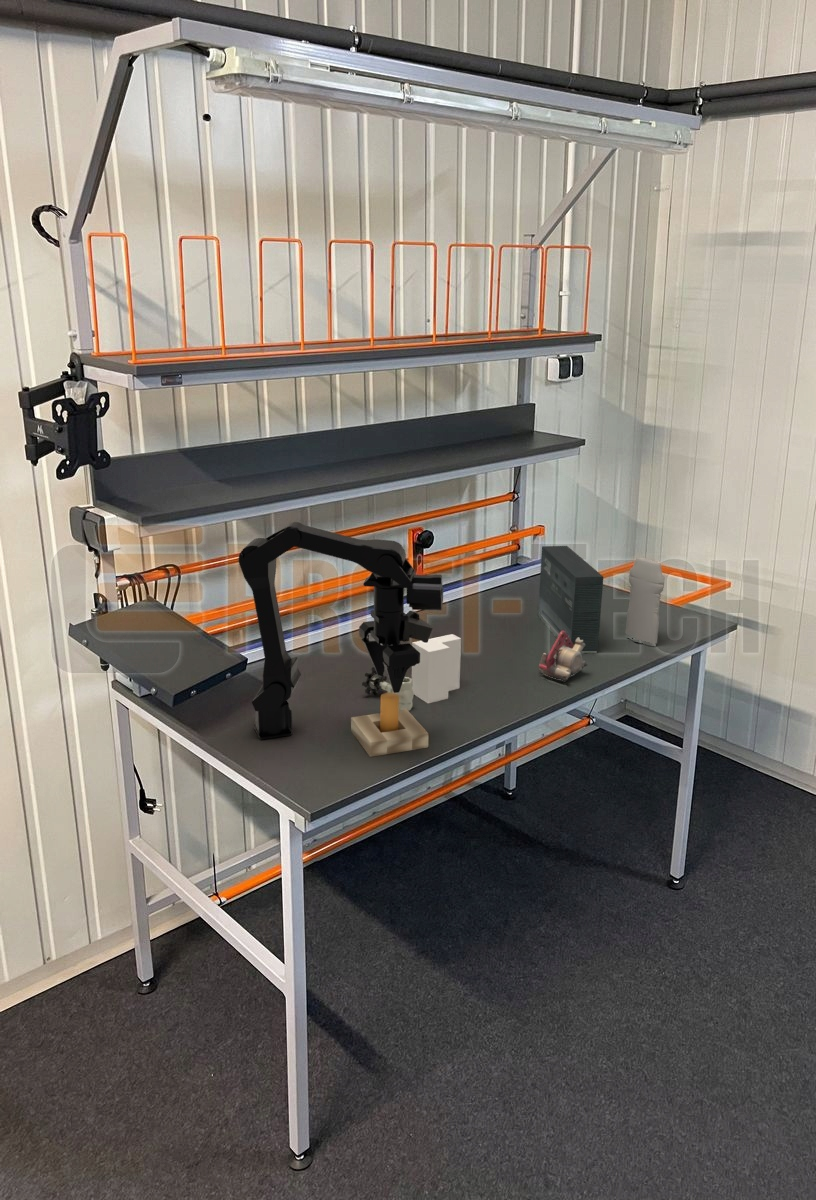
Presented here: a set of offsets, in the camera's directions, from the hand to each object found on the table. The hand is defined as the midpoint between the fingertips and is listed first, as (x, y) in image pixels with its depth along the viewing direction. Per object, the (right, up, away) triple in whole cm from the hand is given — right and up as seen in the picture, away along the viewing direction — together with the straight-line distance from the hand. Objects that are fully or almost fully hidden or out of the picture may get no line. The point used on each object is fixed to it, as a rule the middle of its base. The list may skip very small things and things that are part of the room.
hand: (388, 683), depth 188 cm
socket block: (0, -11, +3) cm, 12 cm away
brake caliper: (+40, -2, +36) cm, 54 cm away
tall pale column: (+64, +6, +59) cm, 87 cm away
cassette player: (+45, +7, +63) cm, 78 cm away
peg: (0, -11, +3) cm, 12 cm away
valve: (0, -6, +21) cm, 22 cm away
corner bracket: (+10, -4, +27) cm, 29 cm away
